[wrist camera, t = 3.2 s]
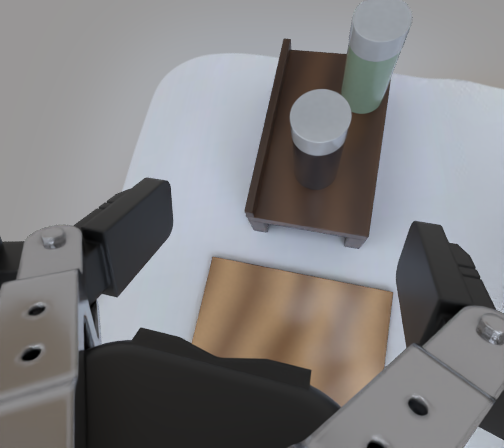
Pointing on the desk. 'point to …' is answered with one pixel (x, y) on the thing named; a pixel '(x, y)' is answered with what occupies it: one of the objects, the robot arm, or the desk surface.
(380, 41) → the salt shaker
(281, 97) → the walnut shelf
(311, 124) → the pepper shaker
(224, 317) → the wooden board
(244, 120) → the desk surface
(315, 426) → the robot arm
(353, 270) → the desk surface
